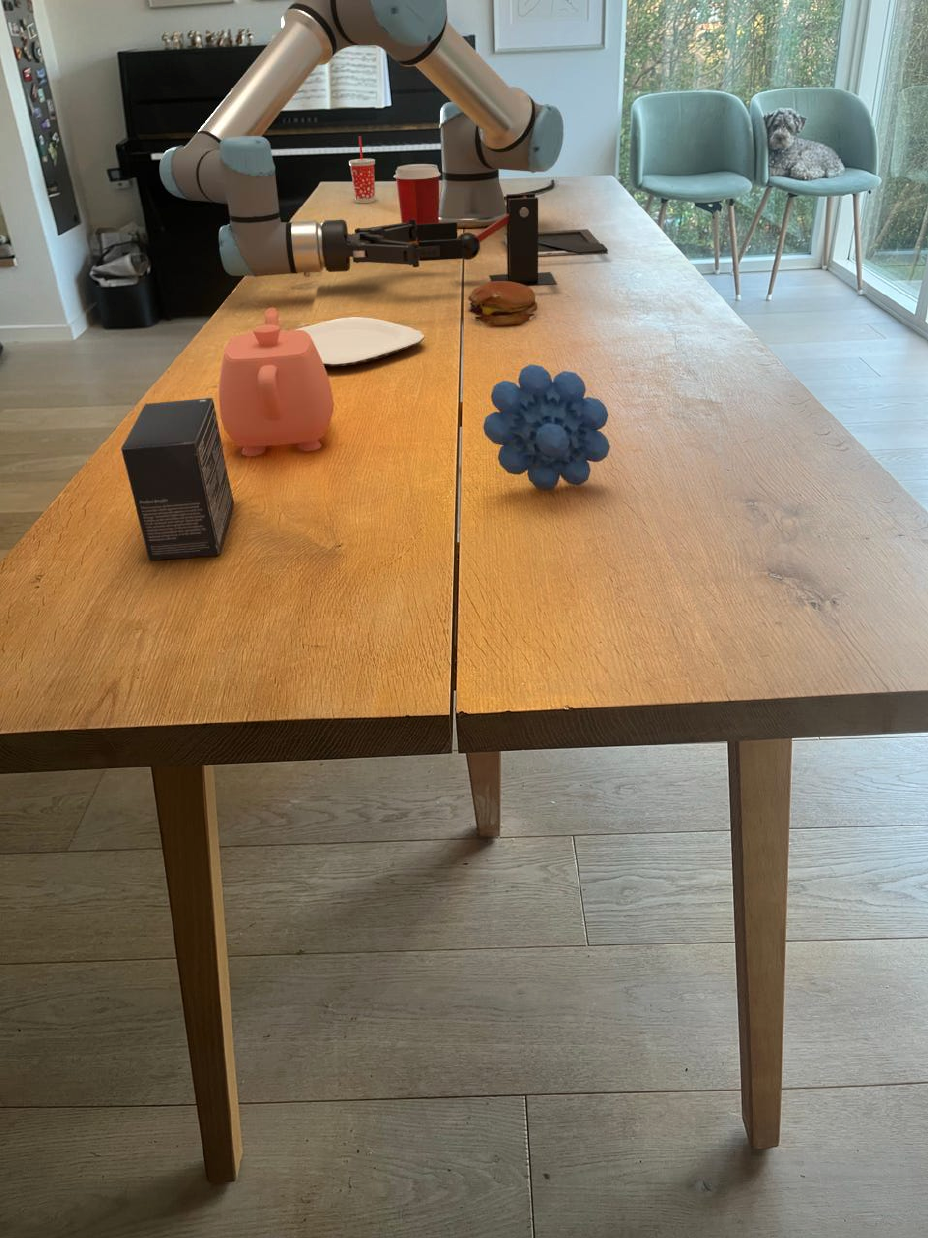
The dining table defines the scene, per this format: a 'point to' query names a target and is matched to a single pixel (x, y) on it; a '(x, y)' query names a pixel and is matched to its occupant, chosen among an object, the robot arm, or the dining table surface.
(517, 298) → the burger
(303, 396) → the teapot
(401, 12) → the robot arm
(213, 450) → the small box
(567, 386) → the blue beaded flower
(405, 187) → the coffee cup
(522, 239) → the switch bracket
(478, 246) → the switch lever
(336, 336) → the plate
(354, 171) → the beverage cup
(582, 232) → the picture frame
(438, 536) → the dining table surface
